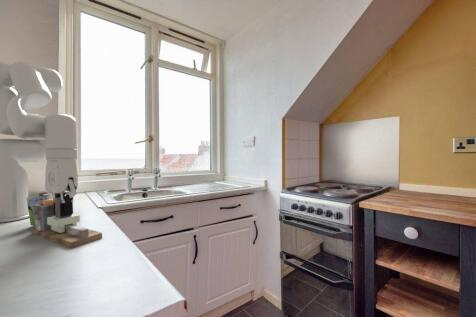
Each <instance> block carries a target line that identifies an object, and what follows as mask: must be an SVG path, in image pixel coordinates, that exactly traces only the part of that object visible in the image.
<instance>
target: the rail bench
mask: <svg viewBox="0 0 476 317" xmlns="http://www.w3.org/2000/svg"><path fill="white" fill-rule="evenodd" d="M53 216H55V215H54V205H48V206H44V205H43V203H42V204H36V205H34V226H33V227H32V228H31V230H30V231H31V232H30V233H31V234H32V235H36V236H37V237H40V238H43V239H44V240H45V239H46V240H48V241H50V242H53V243H57V244H59V245H62V246H65V247H68V248H71V249H73V248H76V247H79V246H82V245H85V244H87V243H88V244H89V243H90V242H94V241H97V240H100V239H102V238H103V232H101V231H97V230H93V229H89V228H86V227H83V226H79V225H77V226H76V225H72V224H68V225H65V232H63V233H59V232H56V231H53V230H51V225H48V224H47V218H48V217H53Z"/></svg>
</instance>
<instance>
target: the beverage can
mask: <svg viewBox="0 0 476 317" xmlns="http://www.w3.org/2000/svg"><path fill="white" fill-rule="evenodd" d="M47 199H51V197H50V194H49V192H47V191H46V190H45V191H40V192H35V193H34V192H33V193H28V197H27V205H28V212H29V223H30V226H33V227H34V205H36V204H42V203H43V200H47Z"/></svg>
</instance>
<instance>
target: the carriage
mask: <svg viewBox="0 0 476 317" xmlns="http://www.w3.org/2000/svg"><path fill="white" fill-rule="evenodd" d="M60 203H61V197H56V198H55V216H53V217H48V218H47V224H48V225H51V230H53V231H56V232H59V233H63V232H65V225H68V224H72V225H76V226H78V224H77V223H79V222H80V221H81V220H80V219H81V216H80V214H78V213H77V214H76V213H73V214H72V215H68V216H63V217H61V216H60Z"/></svg>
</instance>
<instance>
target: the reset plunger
mask: <svg viewBox="0 0 476 317" xmlns="http://www.w3.org/2000/svg"><path fill="white" fill-rule="evenodd" d="M43 205H44V206H48V205H54V202H53V198H50V199H47V200H43Z"/></svg>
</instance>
